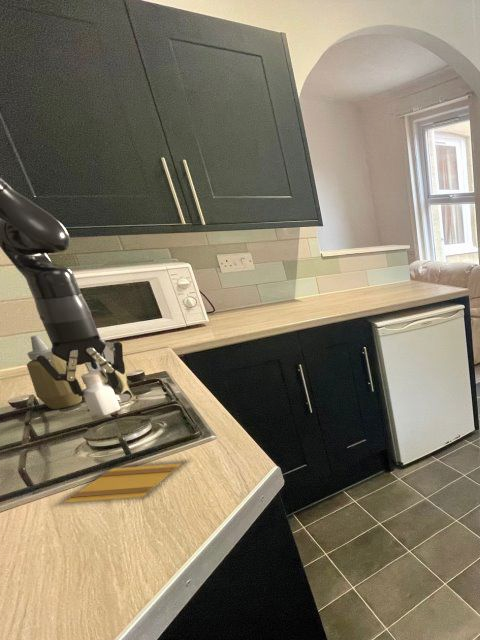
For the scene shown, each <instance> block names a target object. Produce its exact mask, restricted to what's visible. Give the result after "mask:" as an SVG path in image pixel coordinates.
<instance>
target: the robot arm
mask: <svg viewBox="0 0 480 640" xmlns="http://www.w3.org/2000/svg"><path fill="white" fill-rule="evenodd" d="M70 245H71V237H70V233H69V232H68V230H67V229H66V227H65V226H64V225H63V224H62V223H61V222H60V221H59V220H58V219H57V218H56V217H54V216H53V215H52V214H51V213H49V212H48V211H46V210H45V209H44V208H43V207H40V206H39V205H37V204H36V203H35V202H34V201H32V200H30V199H29V198H27V197H26V196H24V195H23V194H21V193H20V192H17V190H15V189H14V188H12V186H11V185H10V184H9V183H7V182H6V181H5V179H3V178H2V176H0V249H1V251H2V252H3V253H4V255H5V256H6V257H7V258H8V259H9V261H10V262H11V263H12V264H13V266H14V267H15V268H16V270H17V271H19V273H20V274H21V275H22V276H23V277H24V279H25V281H26V283H27V285H28V289H29V291H30V293H31V295H32V298H33V300H34V303H35V307H36V310H37V314H38V316H39V319H40V320H41V323H42V325H43V327H44V330H45V331H46V334H47V336H48V339H49V341H50V343H51V348H52V349H51V351H49V352H47V353H44V354H37V355H36V359H37V360H38V362H39V363H40V364H41V365H42V366H43V367H44V368H45V369H46V371H47V372H48V373H49V374H50V375H51V376H52V377H53V379H54V380H56V381H60V380H63V381H67V382H68V383H69V385H70V388H71V390H72V392H73V393H74V394H75V395H76V394H78V395H79V396H82V397H84V395H83V392H82V391H83V389H82V390H81V388H80V385H79V383H78V381H79V380H78V381H77V379H78V378H77V379H76V378H75V376H76V371H77V366H81V365H85V364H84V363H92V362H96V361H97V362H98V363H99V364H100V365H101V366H102V367H103V368H104V369H105V370H106V372H105V373H106V376H107V378H108V381H109V383H110V386H112V388H113V389H114V388H117V387H116V385H118V384H119V382H118V379H117V377H116V374H115V371H116V370H117V369H119V368H122V367H123V361H124V351H123V343H122V342H120V341H119V340H114V341H104V340H103V339H102V337H101V336H100V333H99V331H98V328H97V326H96V323H95V321H94V317H93V316H92V312H91V310H90V308H89V305H88V304H87V302H86V299H85V298H84V295H83V294H82V292H81V290H80V287H79V283H78V282H77V279H76V276H75V274H74V273H73V271H72V270H71V269H70V268H68V267H67V266H62V265H59V264H56V263H54V262H53V261H52V259H50V258H49V256H48V255H54V254H61V253H63V252H65V251H67V250H68V249H69V247H70ZM105 347H109V349H110V350H111V351H113V355H114V363H113V364H111V365H109V364H108V363H107V362H106V361H105V360H104V359H103V358H102V357H101V355H102V353H103V351H104V349H105ZM54 355H55V356H57V357H59V358H61V359H63V360H65V361H66V373H65V374H59V373H58V372H57V370H56V369H55V368H54V367H53V366H52V365H51V363H52V362H53V356H54Z"/></svg>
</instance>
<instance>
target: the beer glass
mask: <svg viewBox="0 0 480 640" xmlns="http://www.w3.org/2000/svg"><path fill="white" fill-rule="evenodd" d="M101 357H102V358H103V359H104V360H105V361H106V362H107V363H108V364H109V365H111V364H113V363H114V355H113V351H111V350H110V349H109V347H105V349H104V351H103V353H102V355H101ZM83 365H84V366H85V368H86V370H87V373H91V372H101V375H102V378H103V381H104V384H105V385H110V383H109V381H108V378H107V376H106V373H105V372H106V370H105V369H104V368H103V367H102V366H101V365H100V364H99V363H98V362H97V361H96V362H92V363H84V364H83ZM115 374H116V377H117V379H118V382H119V384H118V385H116V387H117V388H114V389H113V390H114V393H115V395H116V398H117V401H118V403H119V406H123V405H125V404H128V403H131V402H133V401H135V400H136V399H137V397H136V394H135V393H134V392H133V391H132V389H131V388H130V385H129V381H128V375H127V368H126V364H125V361H124V360H123V367H122V368H119V369H117V370H116V371H115Z"/></svg>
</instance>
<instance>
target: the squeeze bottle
mask: <svg viewBox="0 0 480 640" xmlns="http://www.w3.org/2000/svg"><path fill="white" fill-rule="evenodd" d="M30 341H31V348H32V350H31V351H28V352H27V356H28V358H29V360H30V361H29V362H27V363H26V367H27V370H28V373H29V376H30V380H31V382H32V386H33V389H34V392H35V395H36V397H37V398H38V399H39V400H40V401H41V402H42V403H43V404H45V405H46V407H48V408H49V409H51V410H58V409H64V408H69V407H72V406H75V405H78V404H80V403H82V401H83V396H79V395H78V394H76V395H75V394H74V393H73V392H72V390H71V388H70V385H69V383H68V382H67V381H63V380H60V381H56V380H54V379H53V377H52V376H51V375H50V374H49V373H48V372H47V371H46V369H45V368H44V367H43V366H42V365H41V364H40V363H39V362H38V360H37V359H36V355H37V354H44V353H47V352H49V351H51V349H52V347H49V348H48V346H47V344H45V343H44V341H43V340H42V339H41V338H40V337H39V335H31V336H30ZM51 365H52V366H53V367H54V368H55V369H56V370H57V372H58V373H59V374H65V373H66V361H65V360H63V359H61V358H59V357H57V356H55V355H54V356H53V362H52V363H51ZM75 378H76V379H77V381H78V383H79V385H80V388H81V390H82V391H83V385H82V384H81V383H80V381H79V379H78V377H77V376H76V375H75Z"/></svg>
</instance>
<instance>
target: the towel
mask: <svg viewBox="0 0 480 640" xmlns="http://www.w3.org/2000/svg"><path fill="white" fill-rule="evenodd" d="M180 465H181V463H169V464H156V465H154V464H153V465H145V466H144V465H143V466H140V465H139V466H129V467H114V468H113V467H112V468H111V469H109V470H108V471H106V472H104V473H103V474H102V475H100V477H98V478H97V479H96V480H94V481H93V482H91V483H90V484H88V485H87V486H86V487H84V488H82V489H80V491H77V492H75V493H74V494H72V496H70V498H69V499H67V500H65V501H64V503H65V504H67V503H78V502H79V503H80V502H92V501H103V500H117V499H131V498H132V499H133V498H143V497H144V496H145V495H146V494H148V493H149V492H150V491H151V490H152V489H153V488H154V487H155V486H157V485H158V484H159V483H160V482H161V481H163V480H164V479H165V478H166V477H167V476H168V475H170V474H171V473H172V472H173V471H174V470H176V469H177V468H178V467H179V466H180Z"/></svg>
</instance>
